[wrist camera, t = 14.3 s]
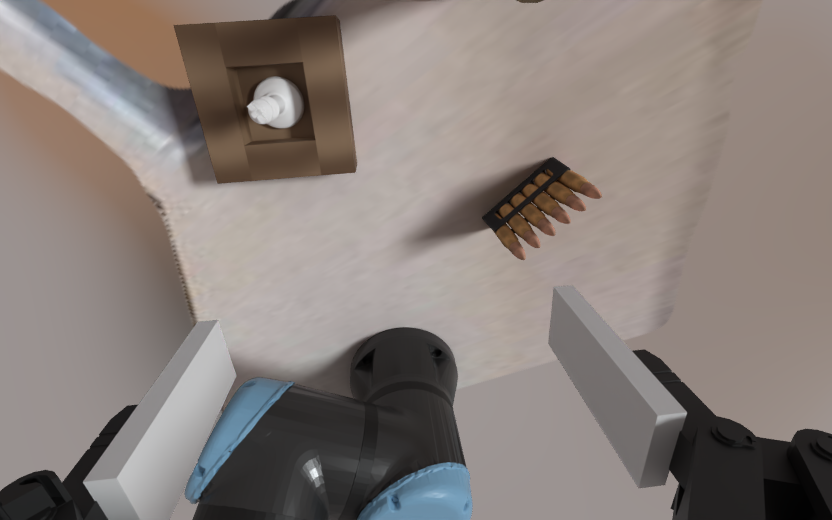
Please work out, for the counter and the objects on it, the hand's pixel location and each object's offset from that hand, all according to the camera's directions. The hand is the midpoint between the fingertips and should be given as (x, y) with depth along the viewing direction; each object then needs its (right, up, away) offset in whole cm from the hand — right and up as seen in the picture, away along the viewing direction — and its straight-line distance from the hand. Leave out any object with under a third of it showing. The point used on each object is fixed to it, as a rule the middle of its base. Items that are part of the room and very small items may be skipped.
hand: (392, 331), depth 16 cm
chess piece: (-13, +19, +25) cm, 34 cm away
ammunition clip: (+13, +11, +33) cm, 37 cm away
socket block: (-13, +19, +26) cm, 35 cm away
